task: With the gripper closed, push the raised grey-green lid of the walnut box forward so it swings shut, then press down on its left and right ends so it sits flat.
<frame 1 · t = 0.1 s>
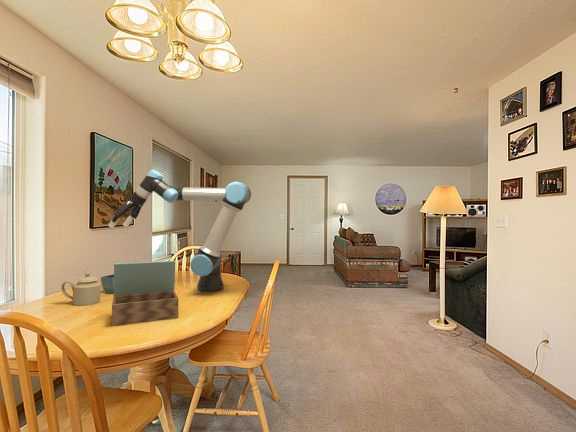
hand: (117, 226, 167), 36 cm above the table, tool tilted 35°, fingers open, 13 cm apart
walnut box: (145, 316, 128), on the table
lid: (145, 277, 134), point 15 cm above the table, hinge at 80.0°
flower pot: (113, 292, 167), on the table
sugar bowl: (82, 303, 146), on the table
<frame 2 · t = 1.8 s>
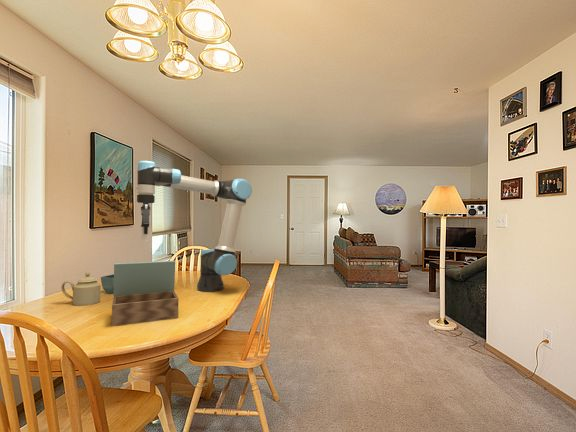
hand: (144, 240, 144), 31 cm above the table, tool pointing down, fingers open, 12 cm apart
nothing on the table moved.
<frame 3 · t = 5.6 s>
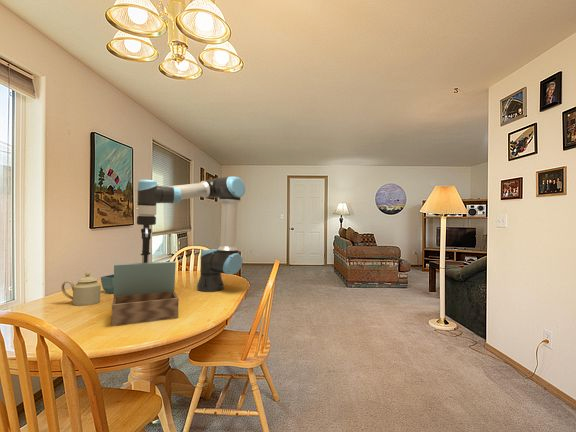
hand: (145, 269, 134), 19 cm above the table, tool pointing down, fingers closed
lid: (145, 278, 133), point 15 cm above the table, hinge at 75.0°, touching gripper
everything else where it was.
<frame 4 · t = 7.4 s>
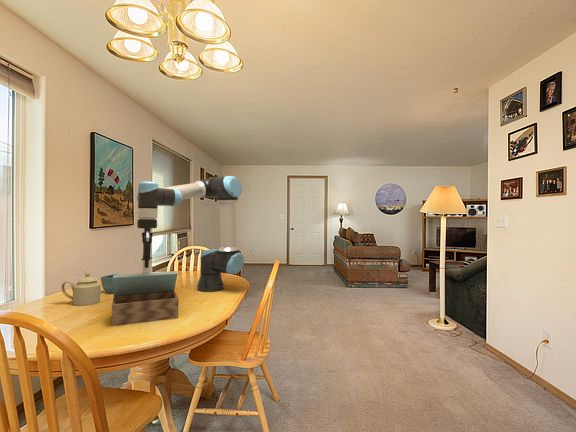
hand: (146, 275, 128), 17 cm above the table, tool pointing down, fingers closed
lid: (145, 283, 130), point 13 cm above the table, hinge at 43.5°, touching gripper
everything else where it was.
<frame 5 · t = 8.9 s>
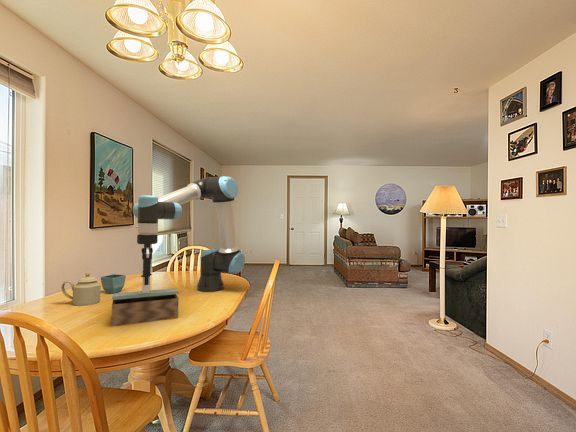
hand: (146, 292, 123), 11 cm above the table, tool pointing down, fingers closed
lid: (145, 293, 128), point 10 cm above the table, hinge at 7.7°, touching gripper, walnut box
everything else where it was.
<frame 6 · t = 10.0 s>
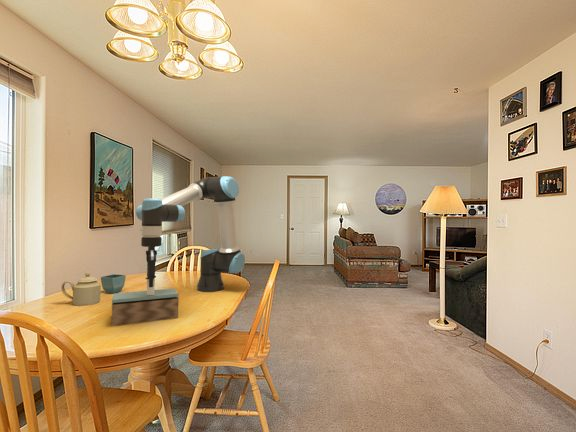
hand: (150, 294, 124), 10 cm above the table, tool pointing down, fingers closed
lid: (145, 295, 128), point 9 cm above the table, hinge at 3.1°
everything else where it was.
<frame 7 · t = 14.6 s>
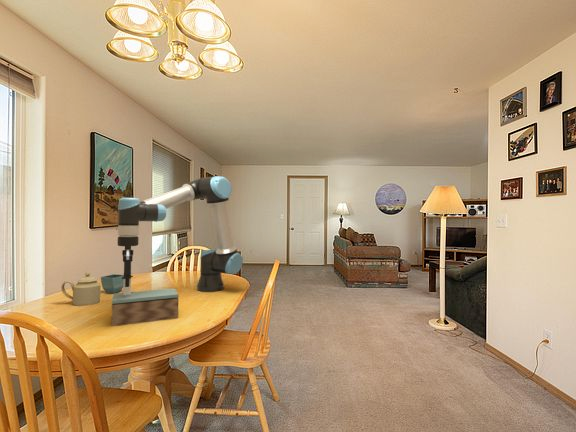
hand: (126, 294, 124), 10 cm above the table, tool pointing down, fingers closed
lid: (145, 295, 128), point 9 cm above the table, hinge at 2.0°
everything else where it was.
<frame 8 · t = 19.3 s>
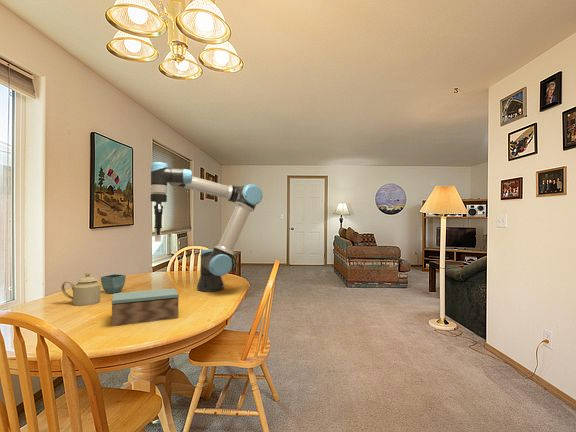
hand: (157, 241, 152), 29 cm above the table, tool pointing down, fingers closed
nothing on the table moved.
at the end: lid at +2° (first picture: +80°) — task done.
